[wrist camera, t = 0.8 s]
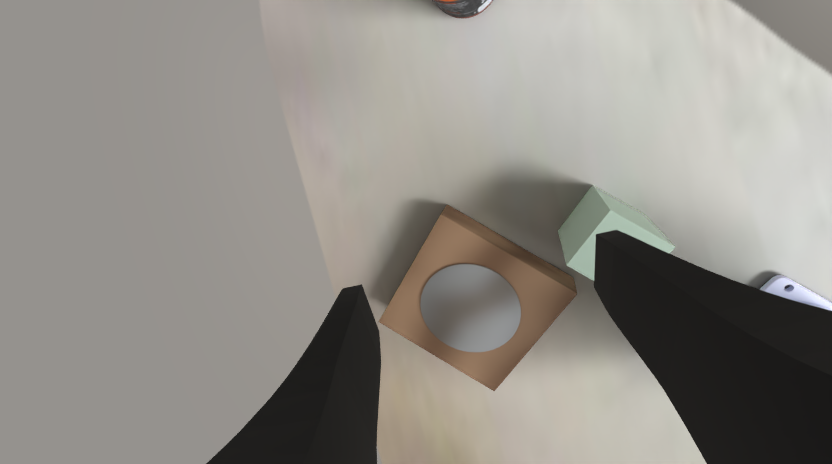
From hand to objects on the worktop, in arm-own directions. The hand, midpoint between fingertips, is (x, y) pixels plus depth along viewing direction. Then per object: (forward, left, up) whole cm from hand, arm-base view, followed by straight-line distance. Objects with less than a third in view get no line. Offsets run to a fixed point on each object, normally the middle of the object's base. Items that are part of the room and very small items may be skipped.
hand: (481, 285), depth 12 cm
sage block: (-8, 0, -18) cm, 19 cm away
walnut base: (-3, +10, -18) cm, 20 cm away
